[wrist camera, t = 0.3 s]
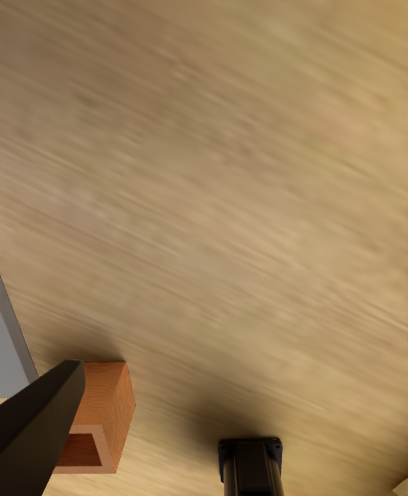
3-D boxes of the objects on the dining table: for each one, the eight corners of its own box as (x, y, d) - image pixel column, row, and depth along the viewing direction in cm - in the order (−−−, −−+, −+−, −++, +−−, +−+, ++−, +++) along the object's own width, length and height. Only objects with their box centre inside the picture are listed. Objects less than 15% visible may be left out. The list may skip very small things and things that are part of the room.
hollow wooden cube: (135, 405, 28) (115, 473, 22) (80, 406, 28) (47, 473, 22) (126, 361, 26) (101, 424, 20) (66, 363, 26) (26, 425, 20)
